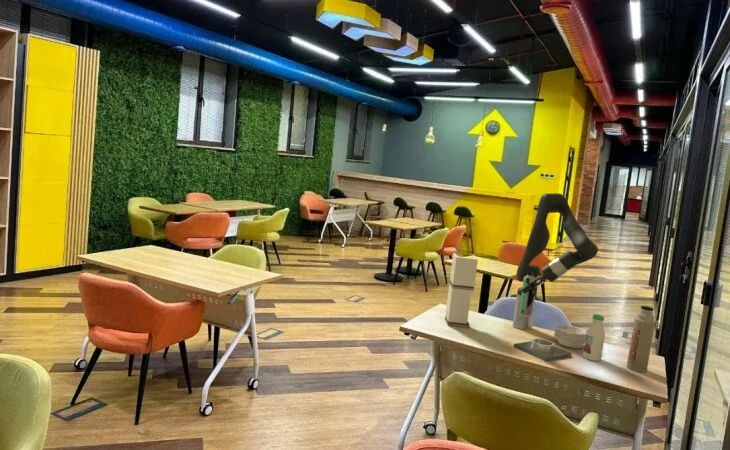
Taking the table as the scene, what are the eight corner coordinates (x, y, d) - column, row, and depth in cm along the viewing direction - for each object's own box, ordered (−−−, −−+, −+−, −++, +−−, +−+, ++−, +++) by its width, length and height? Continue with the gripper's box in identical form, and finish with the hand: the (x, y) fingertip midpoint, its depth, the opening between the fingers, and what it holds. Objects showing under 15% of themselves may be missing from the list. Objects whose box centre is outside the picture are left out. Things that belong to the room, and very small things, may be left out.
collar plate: (539, 343, 264) (540, 333, 263) (571, 356, 249) (572, 346, 248) (513, 346, 254) (514, 337, 253) (545, 361, 239) (547, 351, 238)
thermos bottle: (633, 372, 237) (643, 308, 233) (622, 364, 245) (633, 303, 241) (650, 373, 237) (661, 310, 234) (639, 366, 245) (650, 305, 242)
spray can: (531, 317, 249) (537, 274, 247) (519, 315, 250) (524, 272, 248) (530, 314, 254) (536, 272, 252) (518, 313, 255) (524, 270, 253)
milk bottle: (600, 357, 252) (607, 315, 249) (601, 362, 244) (608, 319, 242) (582, 353, 254) (589, 311, 252) (583, 359, 247) (589, 315, 244)
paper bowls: (558, 337, 276) (560, 322, 275) (590, 346, 268) (592, 330, 267) (549, 344, 264) (551, 328, 263) (581, 353, 255) (584, 336, 254)
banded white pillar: (468, 327, 276) (477, 259, 272) (447, 325, 276) (456, 257, 272) (465, 321, 288) (473, 255, 283) (444, 319, 288) (453, 253, 283)
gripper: (552, 261, 252) (522, 281, 259) (546, 264, 240) (515, 286, 246) (562, 274, 251) (532, 295, 257) (558, 278, 238) (526, 300, 245)
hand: (524, 290), depth 252 cm, fingers closed on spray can, 5 cm apart
